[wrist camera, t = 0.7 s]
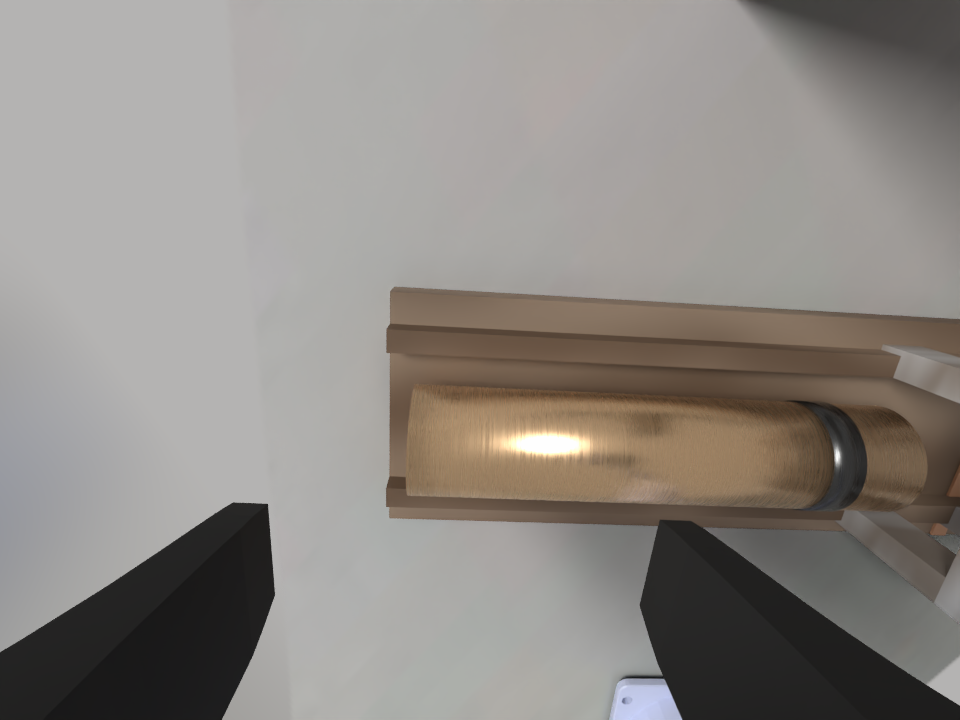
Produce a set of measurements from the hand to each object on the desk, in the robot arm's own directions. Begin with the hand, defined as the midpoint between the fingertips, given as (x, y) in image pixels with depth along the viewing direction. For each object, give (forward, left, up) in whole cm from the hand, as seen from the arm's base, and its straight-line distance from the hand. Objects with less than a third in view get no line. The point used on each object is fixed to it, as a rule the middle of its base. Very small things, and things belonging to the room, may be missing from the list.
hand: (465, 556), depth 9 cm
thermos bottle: (-1, -6, -8) cm, 11 cm away
